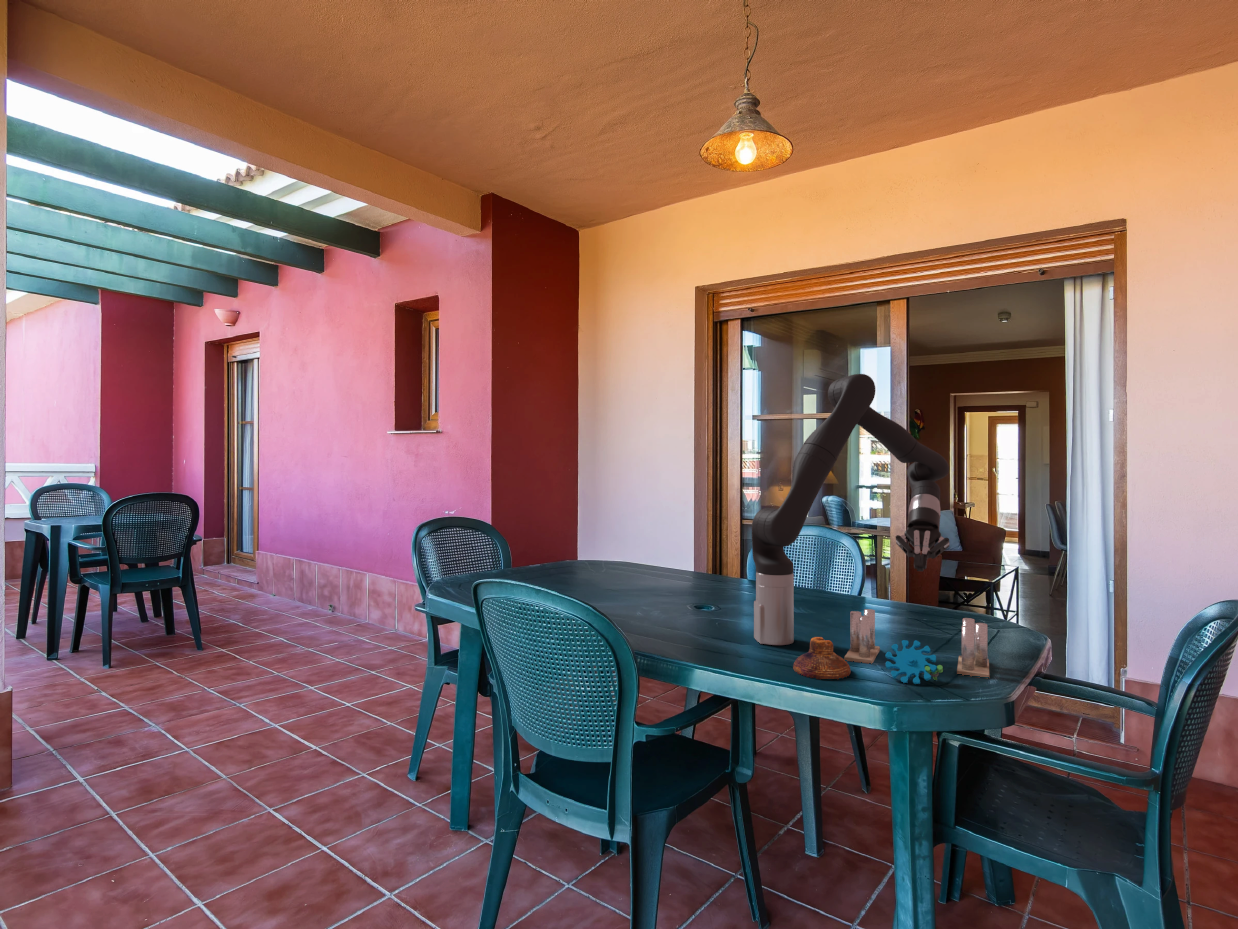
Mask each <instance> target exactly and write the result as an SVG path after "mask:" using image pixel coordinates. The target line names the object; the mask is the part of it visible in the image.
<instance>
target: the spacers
mask: <svg viewBox="0 0 1238 929" xmlns="http://www.w3.org/2000/svg"><path fill="white" fill-rule="evenodd" d="M849 612H850V614H849V615H850V618H849V619H850V620H849V621H850V628H849V629H850V630H849V631H850V634H849V635H850V638H849V639H850V646H849V647H850V648H849V650H850V651H852V652H859V657H862V658H870V649H875V646H876V610H875V609H872V608H867V609H866V608H865V609H863V615H862V612H860V611H858V610H857V611H855V610H854V611H853V610H852V611H849ZM975 621H976V620H975V619H974V618H971V617H970V618H969V617H963V618H962V625H961V656H962V669H963V670H968V671H973V670H974V660H975V666H978V667H987V659H988V624H987V623H985V622H975Z"/></svg>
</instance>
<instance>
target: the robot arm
mask: <svg viewBox="0 0 1238 929" xmlns="http://www.w3.org/2000/svg"><path fill="white" fill-rule="evenodd" d="M875 396H876V383H875V382H874V380H873V378H872V377H871V376H870V375H868V374H865V373H857V374H856V373H855V374H851V375H848V376H844V377H840V378H838V379H836V380H833V381H832V382H831V383H830V385H829V387H828V390H827V398H828V400H829V403H830V404H831V405H832V407H833V408H834V409H833V410H832V411H831V413H830V414H829V416H828V417H827V418H826V419H825V420H824V421H823V422H822V423H821V424H819V426H818V427H816V429H815V430H814V431H812V432H811V433H810V434H809V436H807V438H806V439H805V441H804V442H803V444H802V446H801V447H800V449H799V450H798V452H797V454H796V456H795V458H794V460H793V465H792V470H791V472H792V473H791V479H792V480H791V486H790V489H789V491H788V494H787V495H786V497H785V499H784V501H782V503H781V505H780V507H779V508H771V507H769V508H767V507H765V508H762V509H760V510H758V511H757V512H756V513H755V515H754V517H753V520H752V522H751V551H752V559H753V562H754V564H755V565H754V566H755V572H756V573H755V578H756V579H755V600H754V601H753V639H755V640H756V642H757V643H758V642H759V643H760V645H763V644H764V645H770V646H771V645H772V646H785V645H786V646H787V645H790V644H791V645H792V644H793V643H794V638H795V633H794V631H795V630H794V624H795V623H794V622H795V621H794V620H795V618H794V614H795V613H794V609H795V608H794V597H795V596H794V589H795V588H794V584H795V583H794V571H795V570H794V563H793V562H794V561H792V560H791V559H790V558H789V557H788V556H787V555H786V552H785V549H784V548H785V547H789V546H791V545H792V544H793V543H794V542H796V540H797V539H798V537H799V535H800V534H801V531H802V529H803V527H804V525H805V522H806V521H807V518H808V515H809V512H810V510H811V508H812V506H813V504H814V502H815V499H816V498H817V496H818V495H819V493H820V491H821V488H822V487H823V485H824V482H825V481H826V480H827V478H828V476H829V475H830V473H831V471H832V469H833V468H834V466H835V464H836V462H837V460H838V458H839V456H840V454H841V452H842V451H843V448H844V447H845V445H846V443H847V442H848V440H849V438H850V436H851V435H852V433H853V431H854V430H855V428H856V426H857V425H858V426H859V427H860V428H862V429H863V430H865V431H866V432H867V433H868V434H869V435H871V436H872V437H873V438H875V439H876V440H877V441H878V442H879V443H880V444H881V445H883V447H884V448H885V449H886V450H888V451H889V453H890V454H891V455H892V456H894V457H895V459H897V460H898V461H899V462H900V463H902V464H909V463H910V464H909V466H908V467H907V470H906V476H907V479H908V482H909V485H910V486H909V487H910V490H911V493H910V494H911V495H910V502H909V508H908V513H907V514H908V515H907V525H906V526H907V527H906V530H904V534H902V535H899V534H898V535H897V534H896V536H895V543H896V545H897V546H898V547H899V548H900V550H901V551H902V552H903V553H904V554H905V555H906V556H907V557H908V558H913V568H914V569H915V570H916V571H917V572H924V570H926V569H927V567H928V559H933V560H934V559H936V558H937V557H938V556H940V555H941V554H942V553H943V552H945V551H946V550H947V549H949V547H950V538H948V537H943V536H942V533H941V532H940V528H941V527H940V526H941V525H940V523H941V488H940V485H939V484H938V483H936V482H937V481H939V480H942V479H944V478H946V477H947V476H948V474H949V472H950V466H949V463H948V461H947V460H946V458H945V457H944V456H943V455H941V454H940V453H938V451H937V452H936V451H935V450H933V449H931V448H929V447H928V446H926V445H924V444H923V443H921V442H919V441H918V440H917V439H916V438H915V437H914V436H913V435H912V434H911V433H910V431H908V430H907V429H906V428H904V427H903V426H902V425H901V424H899V423H898V422H896V421H894V420H892V419H890V418H888V417H887V416H885V415H883V414H881V413H880V412H878V411H876V410H875V409H874V408H872V407H871V405H872V403H873V401H874V399H875ZM908 543H909V544H910V545H911V546H912V547H913V548H914V549H913V548H912V547H911V546H910V545H909V544H908ZM921 550H922V551H921ZM759 643H758V644H759Z"/></svg>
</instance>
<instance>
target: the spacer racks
mask: <svg viewBox="0 0 1238 929" xmlns="http://www.w3.org/2000/svg"><path fill="white" fill-rule="evenodd" d="M880 651H881V647H880V646H879V645H875V649H870V658H862V657H859V652H852V651H850V649H848V651H847V653H846V654H845V655H844V658H843V659H844V660H847V661H846V662H853V661H854V662H853V663H861V662H862V663H861V664H869V663H871V664H870V665H872V663H874V662H875V660H876V658H877V656H878V654H879V653H880ZM957 674H962V675H961V676H964V675H970V676H969V677H972V676H980V677H989V678H990V659H989V658H987V667H978V666H975V660H974V670H973V671H968V670H963V669H962V655H958V660H957V668H956V675H957ZM980 677H979V678H980Z"/></svg>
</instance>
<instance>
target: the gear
mask: <svg viewBox="0 0 1238 929" xmlns="http://www.w3.org/2000/svg"><path fill="white" fill-rule="evenodd" d="M901 644H902V645H901V646H902V650H899V645H898V644H897V643H894V644H892V645H891V649H892V651H893V652H895V654H896V656H893V654H892V652H891V651H887V652H886V653H885V658H886V659H887V661H886V662H885V669H886V670H890V669H897V670H898V671H897V670H891V671H890V675H891V677H892V678H893V679H896V678H898V677H899V676H900V675H904V676H901V677H900V682H901V683H902V682H903V684H904V683H907V684H908V682H909V679H910V678H911V677H913V676H912V675H915V676H914V678H913V679H912V683H913V685H916V684H920V685H921V679H920V678H919V677H920V675H921V674H923V679H924V680H925V681H929V680H931V679H932V680H933V679H934V680H937V681H938V676H939V674H941V673H943V672H944V668H943V665H941V664H938V665H935V664H932V663H936V662H937V655H935V654H930V653H931V652H932V650H931V648H930V647H929V645H925V646H924V647H923V648H921V649H919V648H920V647H921V642H920V641H919V640H913V644H912V646H911V647H909V640H906V639H903V640H901ZM908 647H909V648H908ZM917 648H918V649H917ZM923 653H925V654H923ZM926 654H930V655H926ZM888 660H891V661H893V662H895V663H892V662H891V661H888ZM927 660H928V661H930V662H931V663H929V662H928V661H927ZM905 675H906V676H905ZM934 680H933V681H934Z"/></svg>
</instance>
